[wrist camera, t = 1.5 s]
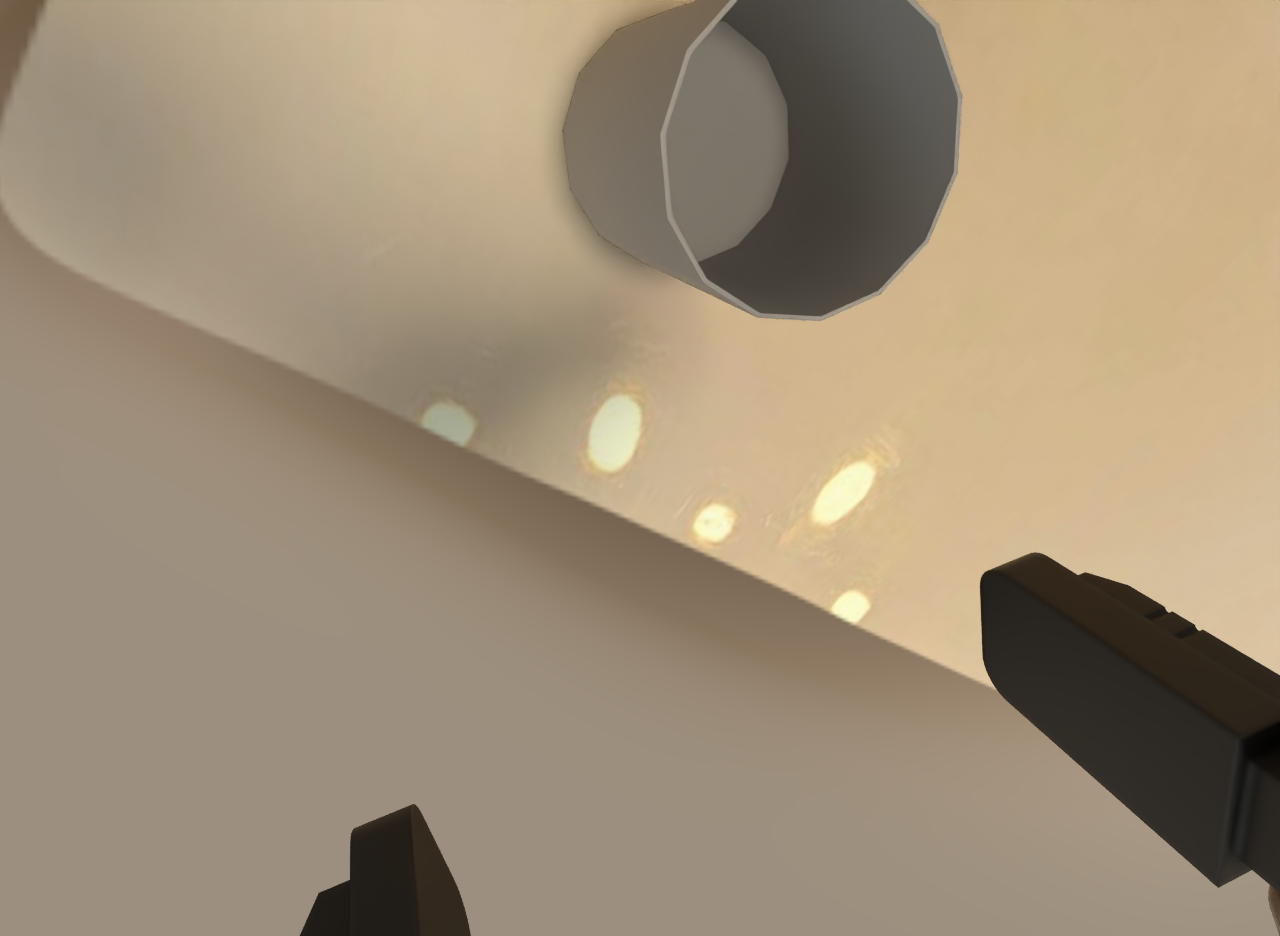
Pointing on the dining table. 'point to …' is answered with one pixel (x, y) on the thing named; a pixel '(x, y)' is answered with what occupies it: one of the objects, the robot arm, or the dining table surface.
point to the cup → (769, 147)
